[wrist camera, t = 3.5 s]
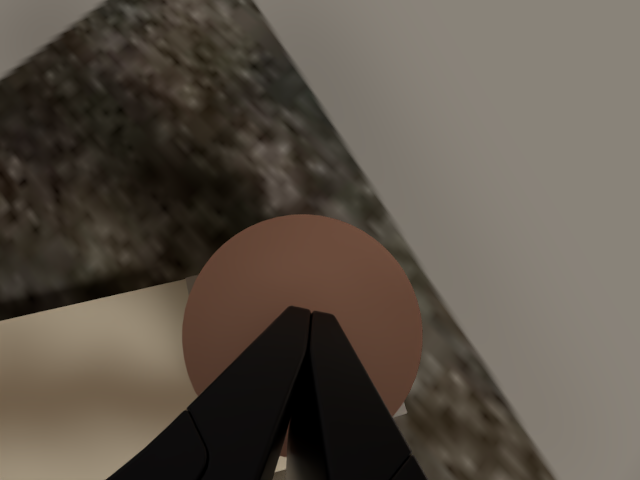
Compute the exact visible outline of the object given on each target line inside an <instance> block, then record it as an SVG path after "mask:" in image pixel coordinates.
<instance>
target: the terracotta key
mask: <svg viewBox="0 0 640 480" xmlns="http://www.w3.org/2000/svg"><path fill="white" fill-rule="evenodd" d="M288 306H297V307H301V308H306V309H309V310H310V311H311V313H312V312H313V311H321V312H325V313H330V314H333V315H334V316H335V317H336V319H337V320H338V322H339V324H340V326H341V327H342V329H343V331H344V333H345V334H346V336H347V338H348V340H349V341H350V343H351V345H352V347H353V349H354V350H355V352H356V354H357V356H358V357H359V359H360V361H361V363H362V364H363V366H364V368H365V370H366V371H367V373H368V375H369V377H370V379H371V380H372V382H373V384H374V386H375V387H376V389H377V391H378V393H379V394H380V396H381V398H382V400H383V401H384V403H385V405H386V407H387V409H388V410H389V412H390V414H391V416H392V417H393V416H394V415H395V413H396V412H397V411H398V409H399V408H400V407H401V406H402V404H403V402H404V400H405V399H406V397H407V395H408V394H409V392H410V390H411V387H412V385H413V383H414V380H415V378H416V375H417V371H418V367H419V364H420V359H421V352H422V331H423V330H422V321H421V314H420V310H419V306H418V301H417V298H416V296H415V293H414V290H413V288H412V285H411V283H410V281H409V279H408V278H407V276H406V274H405V272H404V271H403V269H402V268H401V266H400V265H399V263H398V262H397V261H396V259H395V258H394V257H393V256H392V255H391V254H390V253H389V251H388V250H387V249H386V248H385V247H383V246H382V245H381V244H380V243H379V242H378V241H377V240H375V239H374V238H373V237H371V236H370V235H368V234H367V233H365V232H364V231H362V230H360V229H358V228H356V227H354V226H352V225H350V224H348V223H345V222H342V221H340V220H337V219H333V218H329V217H324V216H318V215H308V214H303V215H287V216H280V217H276V218H272V219H268V220H265V221H262V222H259V223H257V224H255V225H252V226H250V227H248V228H246V229H245V230H243V231H241V232H239V233H238V234H236V235H235V236H233V237H232V238H231V239H229V240H228V241H227V242H226V243H224V244H223V245H222V246H221V247H220V248H219V249H218V250H217V251H216V252H215V253H214V254H213V255H212V256H211V258H210V259H209V260H208V262H207V263H206V264H205V265H204V267H203V268H202V270H201V272H200V273H199V275H198V277H197V278H196V280H195V282H194V285H193V287H192V289H191V292H190V294H189V297H188V301H187V304H186V308H185V312H184V319H183V325H182V346H183V354H184V361H185V365H186V369H187V372H188V376H189V378H190V381H191V383H192V386H193V388H194V391H195V392H196V394H197V396H199V395H200V394H201V393H202V392H203V391H204V390H205V389H206V388H207V387H208V386H209V385H210V384H211V383H212V382H213V381H214V380H215V379H216V378H217V377H218V376H219V375H220V374H221V373H222V372H223V371H224V370H225V369H226V368H227V367H228V366H229V365H230V364H231V363H232V362H233V361H234V360H235V359H236V358H237V357H238V356H239V355H240V354H241V353H242V352H243V351H244V350H245V349H246V348H247V347H248V346H249V345H250V344H251V343H252V342H253V341H254V340H255V339H256V338H257V337H258V336H259V335H260V334H261V333H262V332H263V331H264V330H265V329H266V328H267V327H268V326H269V325H270V324H271V323H272V322H273V321H274V320H275V319H276V318H277V317H278V316H279V315H280V314H281V313H282V312H283V311H284V310H285V309H286V308H287V307H288ZM289 422H290V421H289ZM288 429H289V425H288ZM288 429H287V433H286V436H285V440H284V444H283V447H282V450H281V453H280V456H282V457H287V440H288Z"/></svg>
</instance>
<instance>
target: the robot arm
mask: <svg viewBox="0 0 640 480" xmlns="http://www.w3.org/2000/svg"><path fill="white" fill-rule="evenodd" d="M289 421H290V422H289ZM288 425H289V429H288ZM287 429H288V440H287V460H286V480H428V478H427V477H426V475H425V473H424V472H423V470H422V468H421V466H420V465H419V463H418V461H417V459H416V458H415V456H414V455H412V451H411V449H410V447H409V446H408V444H407V442H406V440H405V438H404V437H403V435H402V433H401V431H400V430H399V428H398V426H397V424H396V423H395V421H394V419H393V417H392V416H391V414H390V412H389V410H388V409H387V407H386V405H385V403H384V401H383V400H382V398H381V396H380V394H379V393H378V391H377V389H376V387H375V386H374V384H373V382H372V380H371V379H370V377H369V375H368V373H367V371H366V370H365V368H364V366H363V364H362V363H361V361H360V359H359V357H358V356H357V354H356V352H355V350H354V349H353V347H352V345H351V343H350V341H349V340H348V338H347V336H346V334H345V333H344V331H343V329H342V327H341V326H340V324H339V322H338V320H337V319H336V317H335V316H334V315H333V314H330V313H325V312H321V311H313V312H312V313H311V311H310V310H309V309H306V308H301V307H297V306H288V307H287V308H286V309H285V310H284V311H283V312H282V313H281V314H280V315H279V316H278V317H277V318H276V319H275V320H274V321H273V322H272V323H271V324H270V325H269V326H268V327H267V328H266V329H265V330H264V331H263V332H262V333H261V334H260V335H259V336H258V337H257V338H256V339H255V340H254V341H253V342H252V343H251V344H250V345H249V346H248V347H247V348H246V349H245V350H244V351H243V352H242V353H241V354H240V355H239V356H238V357H237V358H236V359H235V360H234V361H233V362H232V363H231V364H230V365H229V366H228V367H227V368H226V369H225V370H224V371H223V372H222V373H221V374H220V375H219V376H218V377H217V378H216V379H215V380H214V381H213V382H212V383H211V384H210V385H209V386H208V387H207V388H206V389H205V390H204V391H203V392H202V393H201V394H200V395H199V396H198V397H197V398H196V399H195V400H194V401H193V402H192V403H191V404H190V405H189V406H188V407H187V409H186V410H184V411H183V412H182V413H181V414H180V415H179V416H178V417H177V418H176V419H175V420H174V421H173V422H172V423H171V424H170V425H169V426H167V427H166V428H165V429H164V430H163V431H162V432H161V433H160V434H159V435H158V436H157V437H156V438H155V439H153V440H152V441H151V442H150V443H149V444H148V445H147V446H146V447H145V448H144V449H143V450H141V451H140V452H139V453H138V454H136V455H135V456H134V457H133V458H132V459H130V460H129V461H128V462H127V463H125V464H124V465H123V466H122V467H121V468H119V469H118V470H117V471H116V472H115V473H113V474H112V475H111V476H109V477H108V478H107V479H106V480H272V479H273V476H274V473H275V469H276V466H277V463H278V460H279V457H280V453H281V450H282V447H283V444H284V440H285V436H286V433H287Z"/></svg>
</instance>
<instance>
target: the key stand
mask: <svg viewBox="0 0 640 480" xmlns="http://www.w3.org/2000/svg"><path fill="white" fill-rule="evenodd" d="M197 277H198V275H195V276H190V277H186V278H185V279H184V280H179V281H175V282H170V283H166V284H162V285H157V286H153V287H148V288H144V289H140V290H135V291H131V292H126V293H122V294H117V295H113V296H109V297H104V298H100V299H95V300H91V301H87V302H82V303H78V304H73V305H69V306H64V307H60V308H56V309H51V310H47V311H42V312H38V313H34V314H29V315H25V316H20V317H16V318H11V319H7V320H3V321H0V480H106V479H107V478H108V477H109V476H111V475H112V474H113V473H115V472H116V471H117V470H118V469H119V468H121V467H122V466H123V465H124V464H125V463H127V462H128V461H129V460H130V459H132V458H133V457H134V456H135V455H136V454H138V453H139V452H140V451H141V450H143V449H144V448H145V447H146V446H147V445H148V444H149V443H150V442H151V441H152V440H153V439H155V438H156V437H157V436H158V435H159V434H160V433H161V432H162V431H163V430H164V429H165V428H166V427H167V426H169V425H170V424H171V423H172V422H173V421H174V420H175V419H176V418H177V417H178V416H179V415H180V414H181V413H182V412H183V411H184V410H186V409H187V407H188V406H189V405H190V404H191V403H192V402H193V401H194V400H195V399H196V398H197V397H198V396H197V394H196V392H195V391H194V388H193V386H192V383H191V381H190V378H189V376H188V372H187V369H186V365H185V361H184V354H183V346H182V325H183V319H184V312H185V308H186V304H187V301H188V297H189V294H190V292H191V289H192V287H193V285H194V282H195V280H196V278H197ZM406 413H407V411H406V408H405V404H404V402H403V404H402V406H401V407H400V408H399V409H398V411H397V412H396V413H395V415H394V416H393V417H396V416H399V415H403V414H406ZM286 460H287V457H282V456H280V457H279V460H278V463H277V466H276V469H275V472H277V471H280V470H284V469H286Z"/></svg>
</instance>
